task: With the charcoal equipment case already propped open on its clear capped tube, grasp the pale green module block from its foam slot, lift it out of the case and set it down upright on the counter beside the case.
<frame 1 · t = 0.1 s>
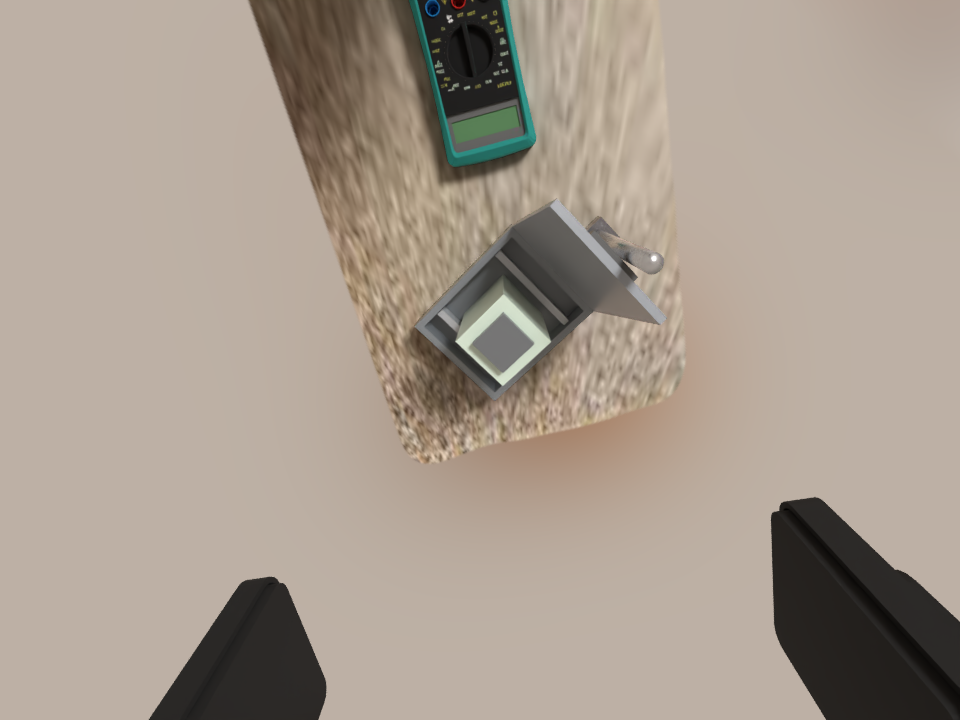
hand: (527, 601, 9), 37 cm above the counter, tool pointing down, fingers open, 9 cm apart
digital multimeter: (473, 66, 40), on the counter
module: (502, 313, 45), point 1 cm above the counter, touching case
clear capped tube: (596, 236, 43), on the counter
lid: (581, 263, 35), point 9 cm above the counter, hinge at 103.0°
case: (502, 311, 45), on the counter
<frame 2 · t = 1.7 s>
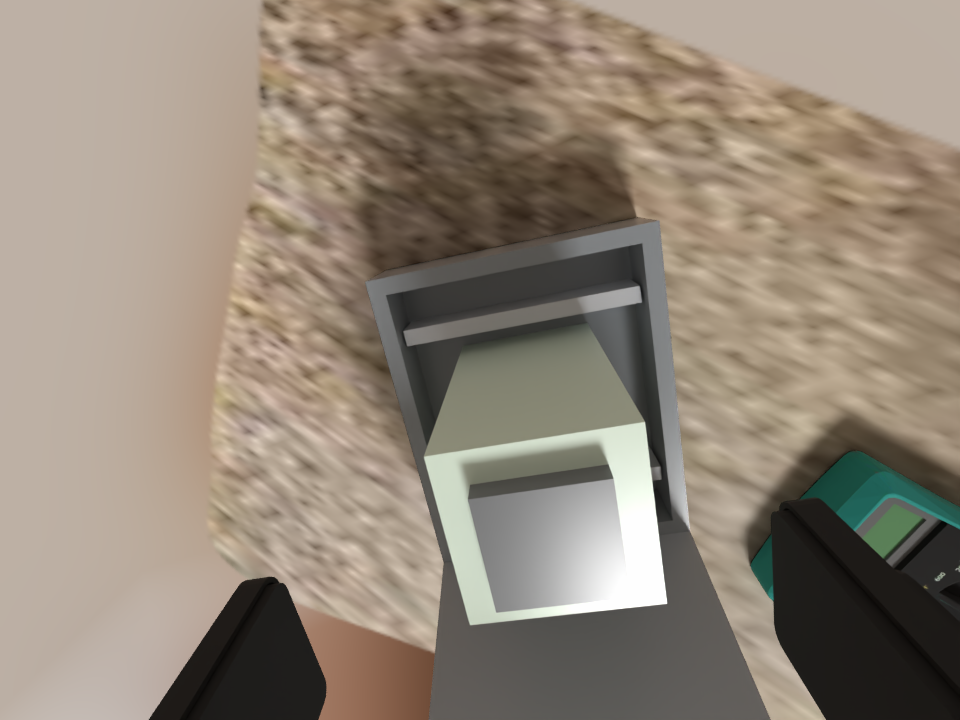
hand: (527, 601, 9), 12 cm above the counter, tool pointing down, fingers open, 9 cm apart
digital multimeter: (913, 563, 23), on the counter
module: (535, 392, 20), point 1 cm above the counter, touching case
case: (534, 385, 21), on the counter
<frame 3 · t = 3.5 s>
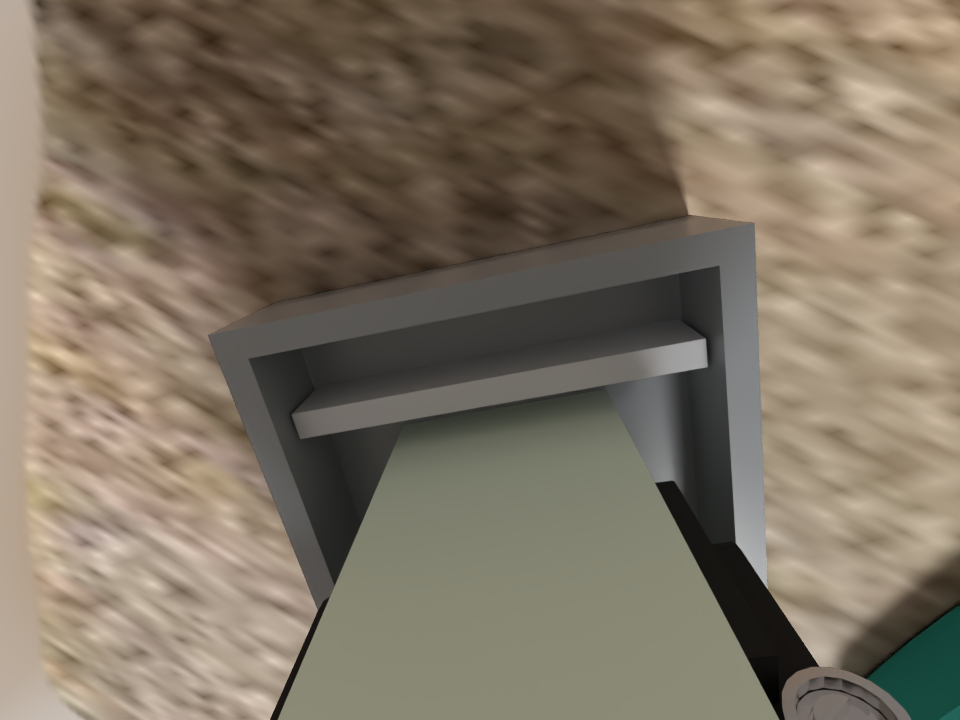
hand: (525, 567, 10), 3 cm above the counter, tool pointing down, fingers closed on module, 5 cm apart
module: (521, 494, 13), point 1 cm above the counter, touching case, gripper
case: (519, 477, 13), on the counter
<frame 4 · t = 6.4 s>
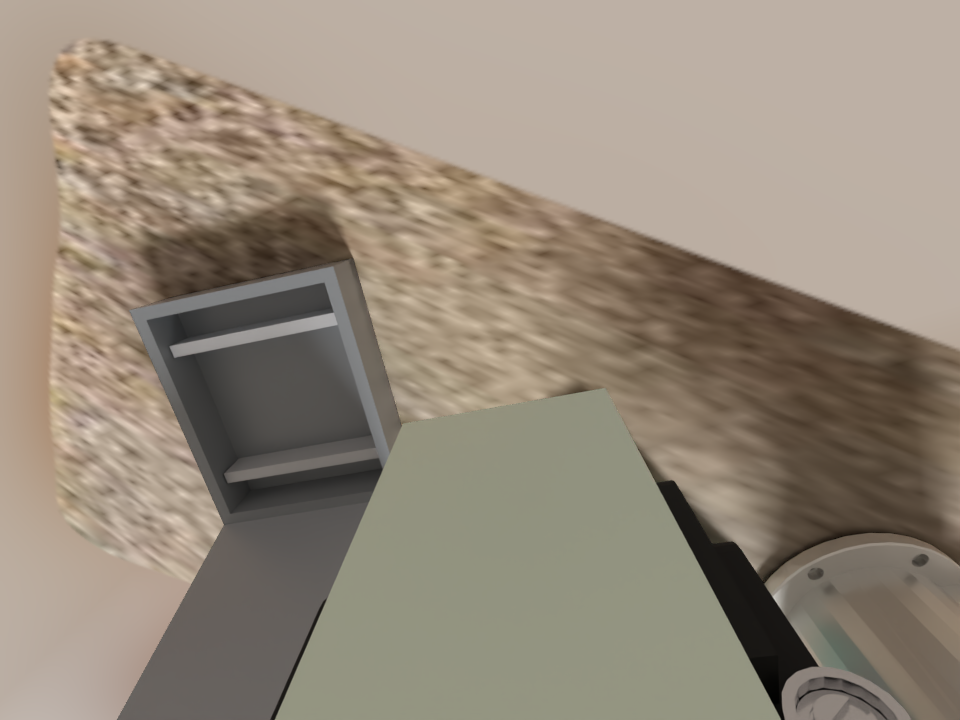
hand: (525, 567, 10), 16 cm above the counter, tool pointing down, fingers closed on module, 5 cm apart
module: (520, 493, 13), point 14 cm above the counter, touching gripper
lid: (275, 630, 21), point 9 cm above the counter, hinge at 103.0°
case: (297, 385, 27), on the counter
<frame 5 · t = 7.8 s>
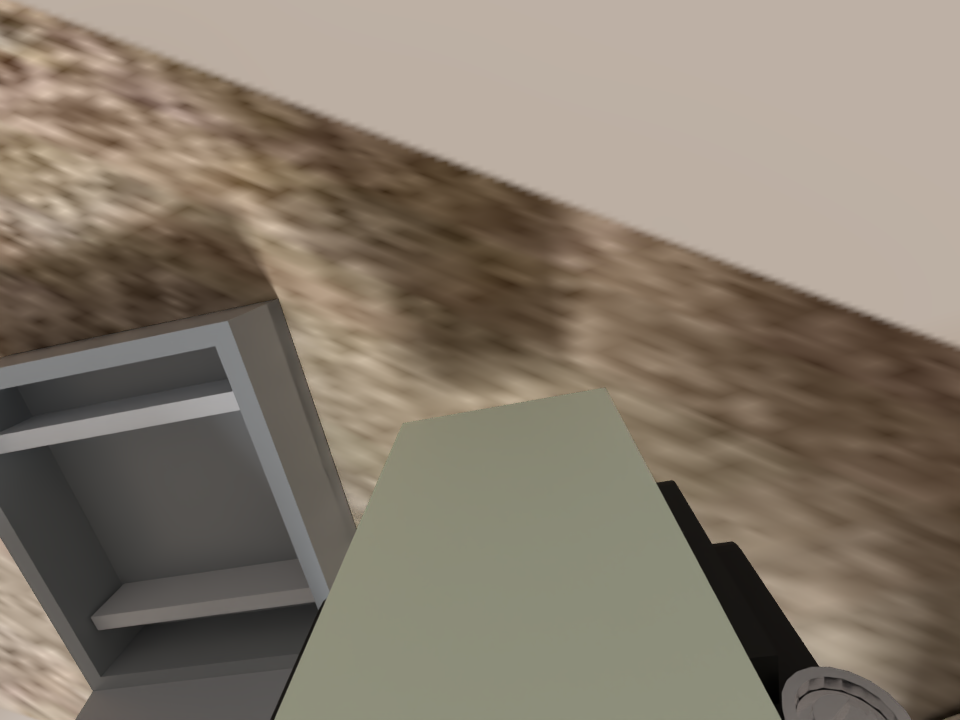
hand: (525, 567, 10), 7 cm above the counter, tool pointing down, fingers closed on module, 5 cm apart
module: (520, 493, 13), point 4 cm above the counter, touching gripper
case: (206, 481, 18), on the counter
when the fingers open (4 cm above the counter, at t = 9.3 s): module drops 1 cm, on the counter.
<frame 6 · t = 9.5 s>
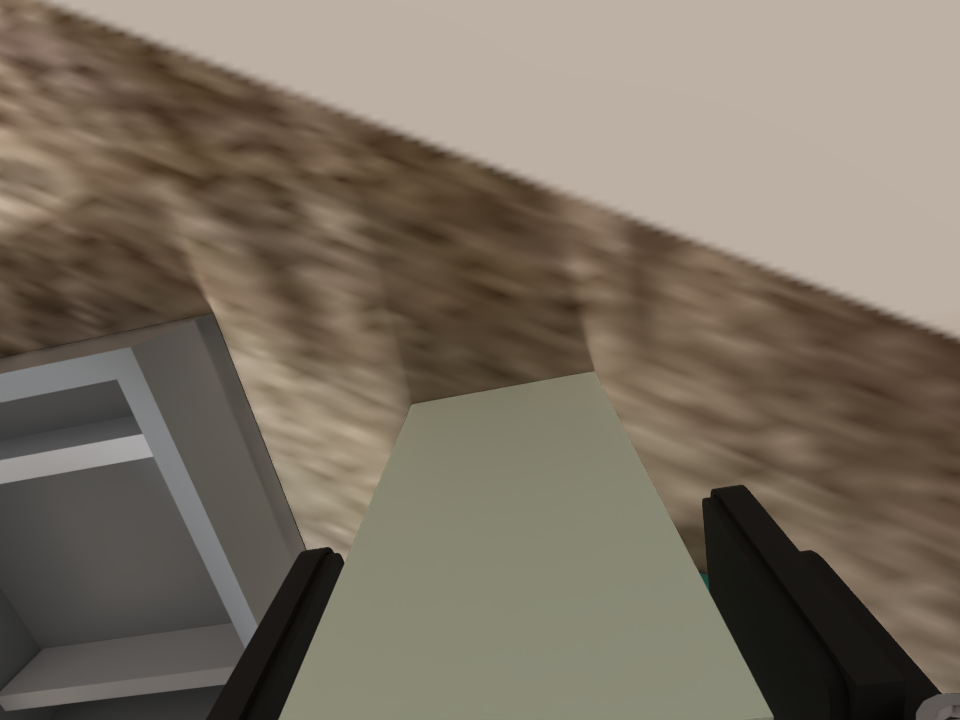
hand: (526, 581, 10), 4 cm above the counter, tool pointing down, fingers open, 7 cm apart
module: (518, 467, 14), on the counter
case: (137, 529, 15), on the counter
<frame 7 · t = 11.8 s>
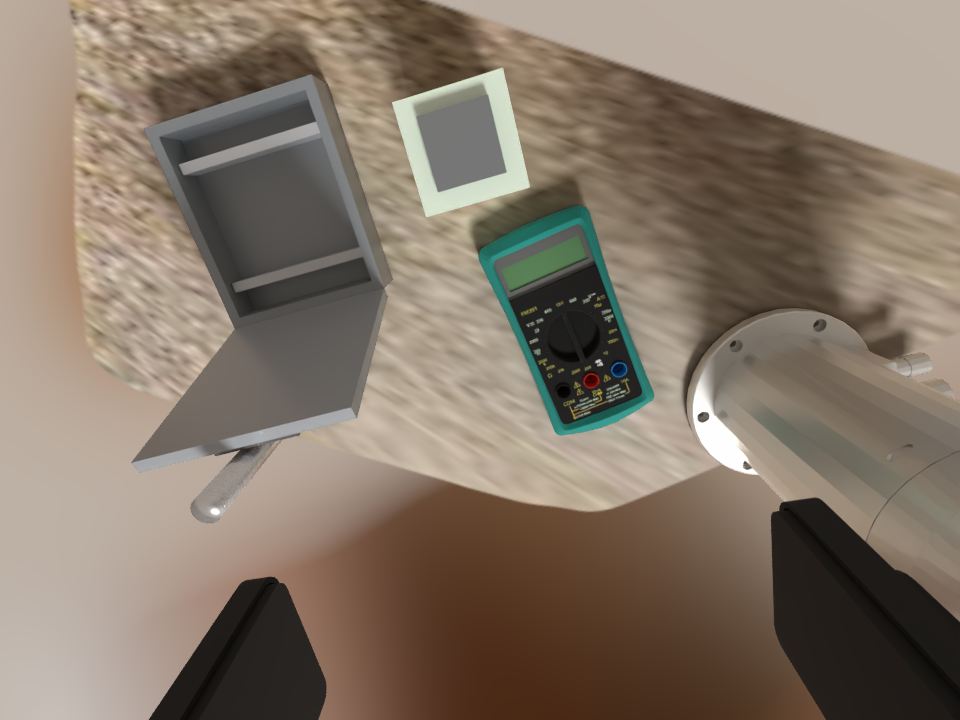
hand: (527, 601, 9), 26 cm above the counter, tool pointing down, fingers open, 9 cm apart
digital multimeter: (564, 320, 35), on the counter
module: (468, 157, 30), on the counter
clear capped tube: (333, 362, 35), on the counter
lid: (285, 368, 26), point 9 cm above the counter, hinge at 103.0°
case: (289, 210, 32), on the counter
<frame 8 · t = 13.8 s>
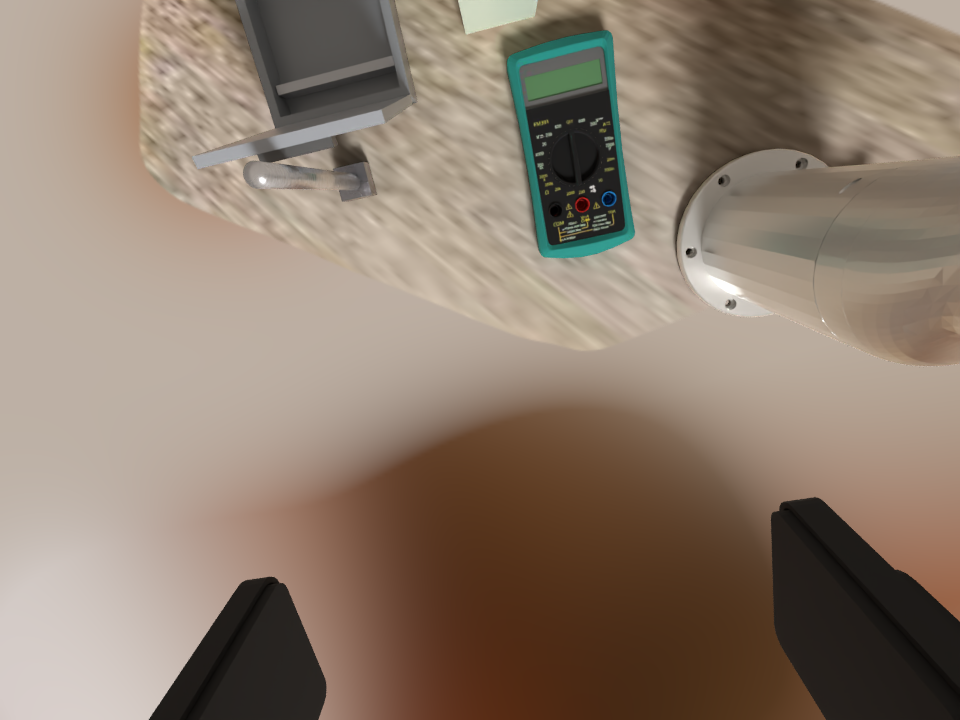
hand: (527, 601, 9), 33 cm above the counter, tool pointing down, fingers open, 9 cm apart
digital multimeter: (569, 154, 38), on the counter
clear capped tube: (358, 182, 39), on the counter
lid: (321, 131, 30), point 9 cm above the counter, hinge at 103.0°
case: (330, 28, 35), on the counter
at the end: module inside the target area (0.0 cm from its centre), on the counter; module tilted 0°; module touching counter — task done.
